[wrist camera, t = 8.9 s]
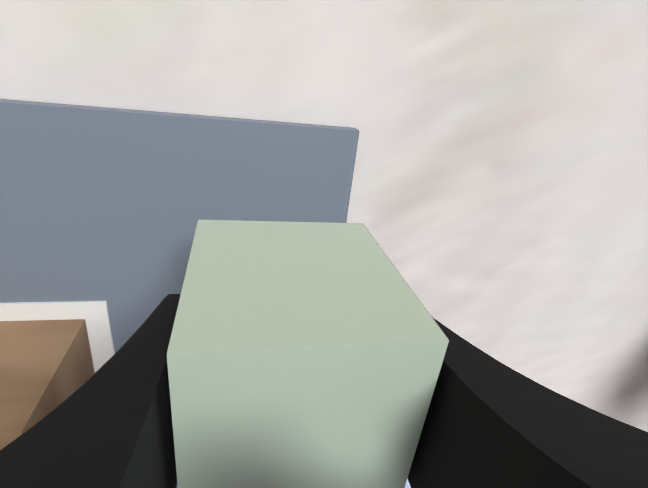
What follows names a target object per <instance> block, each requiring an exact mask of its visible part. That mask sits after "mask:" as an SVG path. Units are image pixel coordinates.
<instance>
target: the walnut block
mask: <svg viewBox="0 0 648 488" xmlns="http://www.w3.org/2000/svg"><path fill="white" fill-rule="evenodd" d="M94 373H95V371H94V365H93V360H92V354H91V349H90V343H89V338H88V332H87V327H86V321H85V319H70V320H28V321H0V450H1V449H3V448H4V447H5V446H7V445H8V444H10V443H11V442H12V441H14V440H15V439H16V438H18V437H19V436H21V435H22V434H23V433H25V432H26V431H27V430H29V429H30V428H31V427H33V426H34V425H35V424H37V423H38V422H39V421H40V420H42V419H43V418H44V417H45V416H47V415H48V414H49V413H50V412H51V411H53V410H54V409H55V408H56V407H57V406H59V405H60V404H61V403H62V402H63V401H65V400H66V399H67V398H68V397H69V396H70V395H72V394H73V393H74V392H75V391H76V390H77V389H78V388H79V387H81V386H82V385H83V384H84V383H85V382H86V381H87V380H88V379H89V378H90V377H91V376H92V375H93V374H94Z"/></svg>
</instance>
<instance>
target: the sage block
mask: <svg viewBox="0 0 648 488" xmlns="http://www.w3.org/2000/svg"><path fill="white" fill-rule="evenodd" d="M448 343H449V340H448V338H447V337H446V335H445V334H444V333H443V331H442V330H441V329H440V327H439V326H438V325H437V323H436V322H435V320H434V319H433V318H432V316H431V315H430V314H429V312H428V311H427V310H426V308H425V307H424V305H423V304H422V303H421V301H420V300H419V299H418V297H417V296H416V295H415V293H414V292H413V290H412V289H411V288H410V286H409V285H408V284H407V282H406V281H405V280H404V278H403V277H402V275H401V274H400V273H399V271H398V270H397V269H396V267H395V266H394V265H393V263H392V262H391V260H390V259H389V258H388V256H387V255H386V254H385V252H384V251H383V250H382V248H381V247H380V245H379V244H378V243H377V241H376V240H375V239H374V237H373V236H372V234H371V233H370V232H369V230H368V229H367V228H366V226H365V225H364V224H363V223H325V222H282V221H238V220H198V222H197V227H196V231H195V235H194V240H193V244H192V248H191V252H190V257H189V261H188V265H187V269H186V274H185V278H184V282H183V287H182V291H181V295H180V299H179V304H178V308H177V312H176V317H175V321H174V325H173V329H172V334H171V338H170V342H169V346H168V351H167V365H168V377H169V389H170V401H171V413H172V425H173V437H174V449H175V461H176V473H177V484H178V488H405V484H406V481H407V478H408V475H409V471H410V468H411V465H412V461H413V458H414V455H415V452H416V448H417V445H418V442H419V438H420V435H421V432H422V428H423V425H424V422H425V419H426V415H427V412H428V409H429V405H430V402H431V399H432V395H433V392H434V389H435V386H436V382H437V379H438V376H439V372H440V369H441V366H442V363H443V359H444V356H445V353H446V349H447V346H448Z"/></svg>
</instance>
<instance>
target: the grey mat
mask: <svg viewBox="0 0 648 488" xmlns="http://www.w3.org/2000/svg"><path fill="white" fill-rule="evenodd" d="M358 136H359V130H357V129H356V128H349V127H337V126H325V125H312V124H300V123H288V122H275V121H263V120H251V119H239V118H226V117H214V116H202V115H190V114H177V113H165V112H153V111H141V110H128V109H116V108H104V107H92V106H79V105H67V104H55V103H43V102H30V101H18V100H6V99H0V321H28V320H70V319H85V321H86V327H87V332H88V338H89V343H90V349H91V354H92V360H93V365H94V371H95V372H96V371H98V370H99V369H100V368H101V367H102V366H103V365H104V364H105V363H106V362H107V361H108V360H109V359H110V358H111V357H112V356H113V355H114V354H115V353H116V352H117V351H118V350H119V349H120V348H121V347H122V346H123V345H124V343H125V342H126V341H127V340H128V339H129V338H130V337H131V336H132V335H133V334H134V333H135V332H136V331H137V329H138V328H139V327H140V326H141V325H142V324H143V323H144V321H145V320H146V319H147V318H148V317H149V316H150V315H151V313H152V312H153V311H154V310H155V309H156V307H157V306H158V305H159V304H160V302H161V301H162V300H163V299H164V298H165V297H166V296H167V295H168V294H181V291H182V287H183V282H184V278H185V274H186V269H187V265H188V261H189V257H190V252H191V248H192V244H193V240H194V235H195V231H196V227H197V222H198V220H238V221H282V222H325V223H346V220H347V213H348V206H349V199H350V192H351V185H352V178H353V171H354V164H355V157H356V150H357V143H358ZM176 488H178V484H177V485H176Z"/></svg>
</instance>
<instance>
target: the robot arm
mask: <svg viewBox="0 0 648 488" xmlns="http://www.w3.org/2000/svg"><path fill="white" fill-rule="evenodd" d="M180 295H181V294H168V295H167V296H166V297H165V298H164V299H163V300H162V301H161V302H160V304H159V305H158V306H157V307H156V309H155V310H154V311H153V312H152V313H151V315H150V316H149V317H148V318H147V319H146V320H145V321H144V323H143V324H142V325H141V326H140V327H139V328H138V329H137V331H136V332H135V333H134V334H133V335H132V336H131V337H130V338H129V339H128V340H127V341H126V342H125V343H124V345H123V346H122V347H121V348H120V349H119V350H118V351H117V352H116V353H115V354H114V355H113V356H112V357H111V358H110V359H109V360H108V361H107V362H106V363H105V364H104V365H103V366H102V367H101V368H100V369H99V370H98V371H96V372H95V373H94V374H93V375H92V376H91V377H90V378H89V379H88V380H87V381H86V382H85V383H84V384H83V385H82V386H81V387H79V388H78V389H77V390H76V391H75V392H74V393H73V394H72V395H70V396H69V397H68V398H67V399H66V400H65V401H63V402H62V403H61V404H60V405H59V406H57V407H56V408H55V409H54V410H53V411H51V412H50V413H49V414H48V415H47V416H45V417H44V418H43V419H42V420H40V421H39V422H38V423H37V424H35V425H34V426H33V427H31V428H30V429H29V430H27V431H26V432H25V433H23V434H22V435H21V436H19V437H18V438H16V439H15V440H14V441H12V442H11V443H10V444H8V445H7V446H5V447H4V448H3V449H1V450H0V488H176V485H177V473H176V461H175V449H174V437H173V425H172V413H171V401H170V389H169V377H168V365H167V351H168V346H169V342H170V338H171V334H172V329H173V325H174V321H175V317H176V312H177V308H178V304H179V299H180ZM432 318H433V317H432ZM433 319H434V318H433ZM434 320H435V322H436V323H437V325H438V326H439V327H440V329H441V330H442V331H443V333H444V334H445V335H446V337H447V338H448V340H449V343H448V346H447V349H446V353H445V356H444V359H443V363H442V366H441V369H440V372H439V376H438V379H437V382H436V386H435V389H434V392H433V395H432V399H431V402H430V405H429V409H428V412H427V415H426V419H425V422H424V425H423V428H422V432H421V435H420V438H419V442H418V445H417V448H416V452H415V455H414V458H413V461H412V465H411V468H410V471H409V475H408V478H407V481H406V484H405V488H648V432H646V431H643V430H641V429H638V428H635V427H633V426H630V425H628V424H625V423H623V422H620V421H618V420H616V419H613V418H611V417H609V416H606V415H604V414H601V413H599V412H597V411H595V410H592V409H590V408H588V407H586V406H584V405H582V404H579V403H577V402H575V401H573V400H571V399H569V398H567V397H564V396H562V395H560V394H558V393H556V392H554V391H552V390H550V389H548V388H546V387H544V386H542V385H540V384H538V383H536V382H535V381H533V380H531V379H529V378H527V377H525V376H524V375H522V374H520V373H518V372H516V371H514V370H513V369H511V368H509V367H507V366H506V365H504V364H502V363H501V362H499V361H497V360H495V359H494V358H492V357H491V356H489V355H488V354H486V353H484V352H483V351H481V350H480V349H478V348H476V347H475V346H473V345H472V344H470V343H469V342H467V341H466V340H464V339H463V338H461V337H460V336H458V335H457V334H455V333H454V332H452V331H451V330H450V329H448V328H447V327H445V326H444V325H443V324H441V323H440V322H438V321H437V320H436V319H434Z"/></svg>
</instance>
